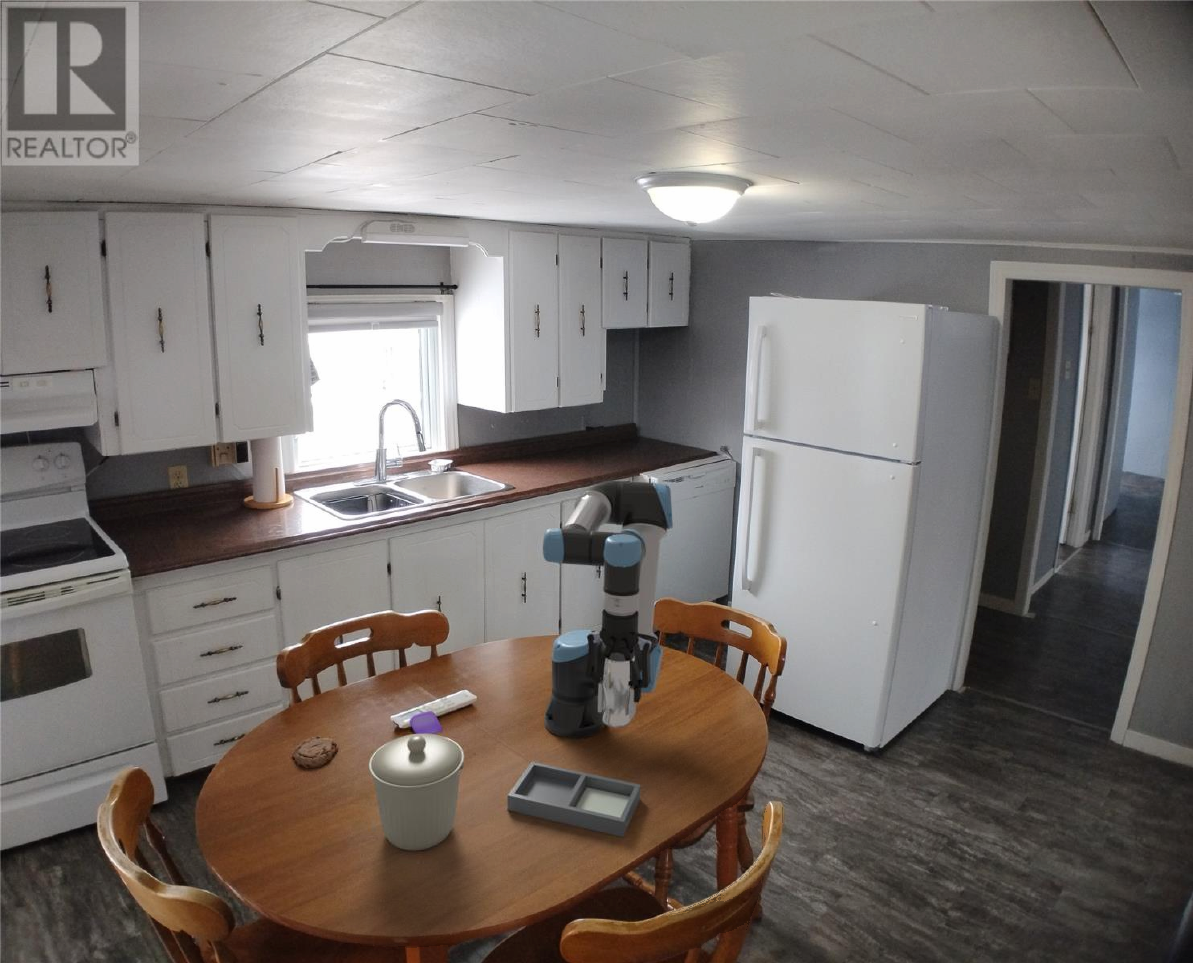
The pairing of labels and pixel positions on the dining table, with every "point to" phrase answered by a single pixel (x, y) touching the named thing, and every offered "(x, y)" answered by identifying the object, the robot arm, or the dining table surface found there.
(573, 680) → the robot arm
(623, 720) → the beer glass
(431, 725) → the spatula
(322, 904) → the dining table surface
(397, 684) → the dining table surface
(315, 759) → the cookie
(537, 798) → the grey divided tray
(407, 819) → the canister
